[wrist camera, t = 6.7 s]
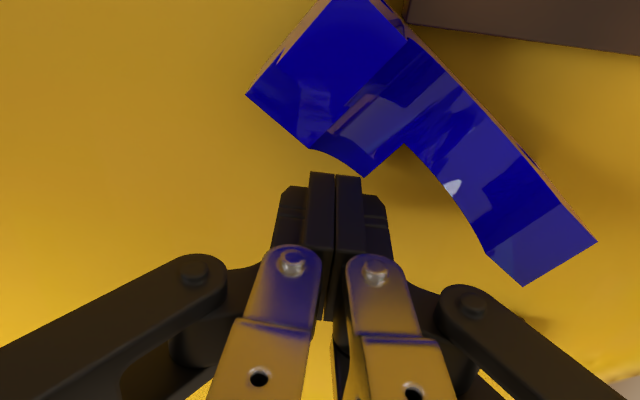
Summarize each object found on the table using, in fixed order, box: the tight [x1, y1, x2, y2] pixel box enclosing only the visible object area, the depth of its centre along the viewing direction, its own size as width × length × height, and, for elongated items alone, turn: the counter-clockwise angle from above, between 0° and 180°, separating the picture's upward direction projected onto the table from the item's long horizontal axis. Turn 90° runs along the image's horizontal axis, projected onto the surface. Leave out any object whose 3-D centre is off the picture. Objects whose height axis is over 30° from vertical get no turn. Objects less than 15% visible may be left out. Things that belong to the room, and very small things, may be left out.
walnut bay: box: [402, 0, 640, 322], centre depth 14 cm, size 7×13×1 cm, turn 173°
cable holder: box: [245, 0, 598, 287], centre depth 11 cm, size 8×4×4 cm, turn 48°
